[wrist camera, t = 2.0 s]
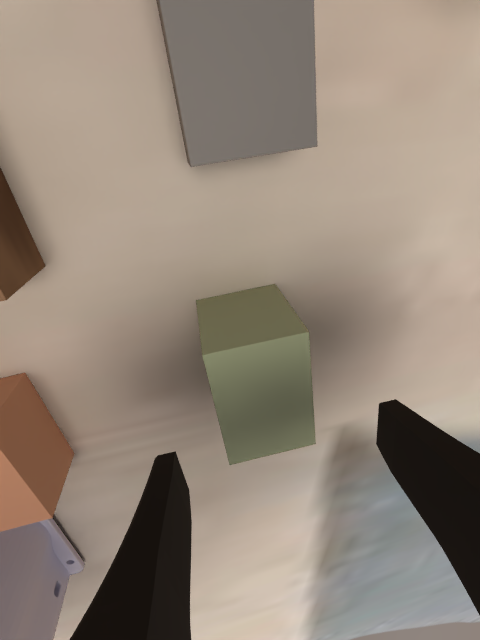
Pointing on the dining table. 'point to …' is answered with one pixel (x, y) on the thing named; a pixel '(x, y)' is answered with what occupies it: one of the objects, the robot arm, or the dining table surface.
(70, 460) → the terracotta brick
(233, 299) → the sage brick
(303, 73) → the charcoal brick
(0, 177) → the walnut block
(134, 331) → the dining table surface
